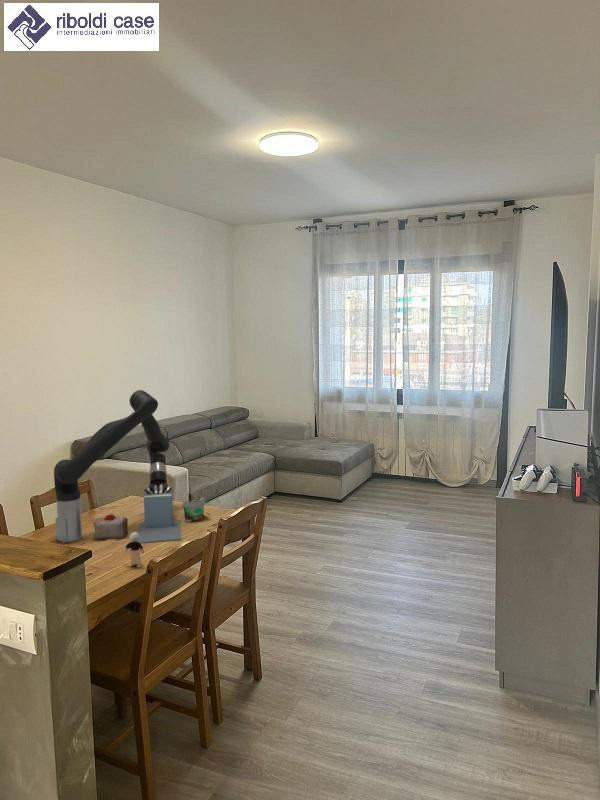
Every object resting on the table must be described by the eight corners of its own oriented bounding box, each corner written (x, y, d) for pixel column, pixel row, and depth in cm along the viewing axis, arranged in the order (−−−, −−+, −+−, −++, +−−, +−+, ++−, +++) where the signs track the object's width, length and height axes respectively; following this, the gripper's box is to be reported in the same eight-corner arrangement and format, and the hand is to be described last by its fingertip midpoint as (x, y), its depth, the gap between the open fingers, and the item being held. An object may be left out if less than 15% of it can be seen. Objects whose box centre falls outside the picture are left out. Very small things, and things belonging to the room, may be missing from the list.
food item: (91, 541, 244) (90, 517, 243) (98, 534, 252) (97, 512, 251) (124, 540, 244) (123, 517, 243) (130, 534, 252) (129, 511, 251)
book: (145, 524, 261) (144, 494, 259) (173, 522, 264) (172, 493, 261) (145, 527, 258) (143, 497, 255) (173, 525, 261) (172, 495, 258)
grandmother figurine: (147, 563, 218) (146, 530, 217) (144, 567, 215) (142, 534, 213) (126, 563, 219) (125, 530, 217) (123, 567, 215) (121, 533, 214)
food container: (192, 525, 262) (192, 503, 261) (182, 523, 266) (182, 501, 265) (211, 518, 272) (211, 497, 271) (201, 516, 276) (201, 495, 275)
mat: (181, 540, 243) (180, 538, 243) (135, 543, 240) (135, 542, 240) (180, 521, 269) (180, 520, 269) (139, 524, 265) (139, 523, 265)
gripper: (173, 478, 277) (174, 510, 266) (143, 479, 274) (143, 513, 263) (172, 469, 271) (173, 502, 260) (143, 471, 268) (142, 504, 257)
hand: (158, 507), depth 262 cm, fingers closed
